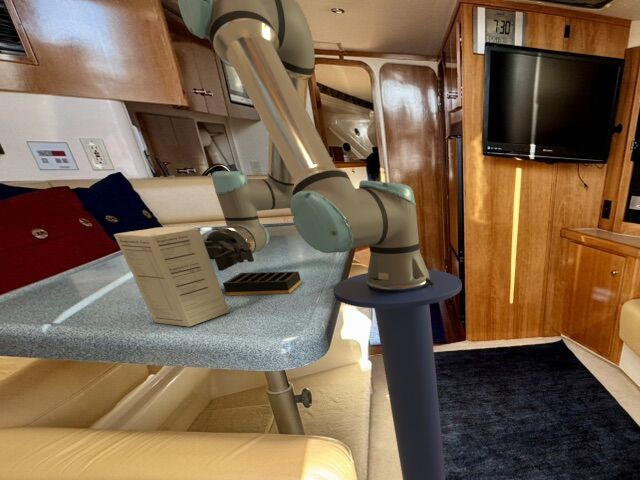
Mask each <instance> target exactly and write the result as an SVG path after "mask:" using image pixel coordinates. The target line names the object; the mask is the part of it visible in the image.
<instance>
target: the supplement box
mask: <svg viewBox="0 0 640 480" xmlns="http://www.w3.org/2000/svg"><path fill="white" fill-rule="evenodd" d="M113 237H114V238H115V240H116V243H117V244H118V245H117V246H118V247H119V249H120V251H121V254H122V255H123V257H124V259H125V262H126V263H127V266H128V268H129V270H130V272H131V274H132V276H133V278H134V280H135V283H136V285H137V287H138V290H139V291H140V294H141V297H142V298H143V301H144V302H145V305H146V306H147V309H148V311H149V313H150V315H151V317H152V319H153V322H154V323H155V324H165V325H171V326H172V325H173V326H181V327H188V328H189V327H192V326H195V325H198V324H200V323H204V322H206V321H209V320H212V319H214V318H217V317H219V316H223V315H226V314H227V313H230V310H229V306H228V304H227V301H226V298H225V296H224V293H223V290H222V288H221V284H220V283H219V279H218V276H217V274H216V271H215V269H214V266H213V263H212V260H211V259H210V258H209V255H208V252H207V250H206V247H205V244H204V241H205V240H204V239H203V236H202V233H201V230H200V229H199V228H194V227H193V228H192V227H170V226H162V227H161V226H159V227H153V228H147V229H139V230H133V231H132V230H131V231H125V232H119V233H114V234H113Z"/></svg>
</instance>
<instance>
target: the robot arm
mask: <svg viewBox="0 0 640 480" xmlns="http://www.w3.org/2000/svg"><path fill="white" fill-rule="evenodd" d="M177 5H178V8H179V11H180V15H181V17H182V20H183V22H184V24H185V26H186V28H187V29H188V31H189V32H190V33H191V34H192V35H194V36H196V37H198V38H200V39H207V40H208V41H209V42H210V44H211V46H212V48H213V50H214V52H215V53H216V55H217V56H218V58H219V59H220V60H221V61H222V62H223V63H225V64H227V65H228V66H230V67H233V70H234V72H235V74H236V75H237V77H238V79H239V80H240V82H241V84H242V86H243V88H244V90H245V93H247V96H248V97H249V100H250V101H251V103H252V105H253V107H254V109H255V111H256V112H257V115H258V116H259V118H260V120H261V122H262V125H264V128H265V129H266V132H267V133H268V149H267V151H268V156H267V178H248V176H247V173H245V172H244V171H240V170H239V171H238V170H229V171H228V170H223V171H221V170H219V171H218V170H217V171H214V172H213V173H212V174H211V178H212V183H213V184H212V185H213V187H214V192H215V195H216V197H217V200H218V202H219V206H220V208H221V212H222V214H223V217H224V221H225V225H226V227H223V228H220V229H216V230H214V231H212V232H210V233H209V234H208V235H207V237H206V239H205V240H203V241H204V244H205V247H206V250H207V252H208V255H209V258H210V260H211V261H212V260H214V261H215V264H216V267H217V270H218V271H219V272H223V271H225V270H227V269H229V268H231V267H233V266H235V265H237V264H238V263H240V264H243V263H245V261H247V262H249V263H253V262H255V259H254V255H253V254H254V253H257V252H260V251H261V250H263V249H264V248H266V246H267V245H268V244H269V242H270V234H269V230H268V229H267V227H266V226H264V225H263V224H262V223H261V222H260V218H259V216H258V212H262V211H273V210H285V209H290V214H291V215H292V216H293V217H292V222H293V224H294V226H295V228H296V230H297V232H298V233H299V235H300V236H301V238H302V239H303V240H304V242H306V243H307V245H308V246H310V248H313V249H314V250H316V251H318V252H320V253H324V254H334V253H346V252H348V251H352V250H357V249H361V248H367V247H369V255H370V256H369V261H368V268H367V272H366V273H367V284H368V288H370V289H371V290H374V291H378V292H387V293H399V292H409V291H415V290H419V289H422V288H425V287H427V286H428V285H429V284H430V285H431V286H433V284H434V283H433V282H432V281H431V280H430V276H429V273H428V270H429V269H428V268H427V266H426V263H425V261H424V259H423V256H422V254H421V250H420V240H419V238H420V237H419V231H418V230H419V228H418V227H419V226H418V216H417V203H416V201H415V194H414V191H413V188H411V186H409V185H408V184H403V183H397V182H396V183H395V182H389V181H388V182H387V181H377V180H360V181H359V182H358V183H359V186H358V187H357V188H356V187H355V186H354V184H353V182H352V180H351V178H350V176H349V174H348V172H346V171H345V170H343V169H340V168H338V167H336V166H335V163H334V162H333V159H332V157H331V155H330V154H329V151H328V150H327V148H326V146H325V143H324V142H323V140H322V138H321V136H320V133H319V132H318V130H317V128H316V126H315V124H314V123H313V121H312V118H311V117H310V114H309V113H308V111H307V100H308V99H307V98H308V86H309V79H311V78H312V77H313V76H314V75H315V74H314V73H315V56H316V55H315V46H314V45H315V44H314V39H313V37H312V36H313V35H312V31H311V28H310V25H309V22H308V20H307V18H306V15H305V13H304V11H303V9H302V7H301V6H300V4H299V3H298V1H297V0H177Z"/></svg>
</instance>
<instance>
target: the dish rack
mask: <svg viewBox="0 0 640 480" xmlns="http://www.w3.org/2000/svg"><path fill="white" fill-rule="evenodd" d="M301 279H302V278H301V276H300V272H299V271H268V272H267V271H265V272H264V271H263V272H261V271H260V272H259V271H258V272H239V273H238V274H236V275H235V276H232V277H231V278H229V279H228V280H226V281H224V282H223V283H222V285H223V289H224V291H225V294H226V296H257V295H288V294H291V293H292V292H293V291H294V290H296V288H297V287H299V286H300V285H301V284H302V280H301Z"/></svg>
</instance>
